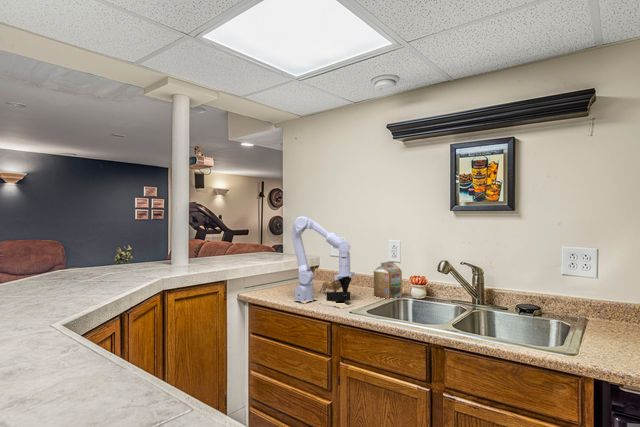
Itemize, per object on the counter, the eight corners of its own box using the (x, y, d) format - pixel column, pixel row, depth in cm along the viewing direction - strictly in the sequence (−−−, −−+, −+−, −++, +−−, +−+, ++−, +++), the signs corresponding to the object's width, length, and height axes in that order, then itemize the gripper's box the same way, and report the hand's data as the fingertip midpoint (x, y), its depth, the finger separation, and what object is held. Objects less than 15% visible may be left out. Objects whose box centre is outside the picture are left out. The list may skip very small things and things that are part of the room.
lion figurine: (344, 294, 212) (344, 278, 212) (341, 296, 207) (341, 279, 207) (320, 292, 217) (319, 276, 217) (316, 294, 212) (316, 278, 212)
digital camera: (336, 302, 196) (326, 302, 192) (336, 292, 197) (326, 292, 193) (350, 302, 189) (340, 303, 184) (350, 291, 190) (340, 291, 185)
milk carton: (389, 300, 195) (388, 263, 195) (374, 297, 203) (373, 261, 203) (402, 297, 202) (401, 261, 202) (386, 294, 210) (386, 260, 210)
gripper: (341, 267, 185) (342, 295, 185) (359, 264, 196) (359, 290, 196) (330, 266, 190) (331, 293, 190) (348, 263, 201) (349, 288, 201)
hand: (345, 291), depth 193 cm, fingers closed
